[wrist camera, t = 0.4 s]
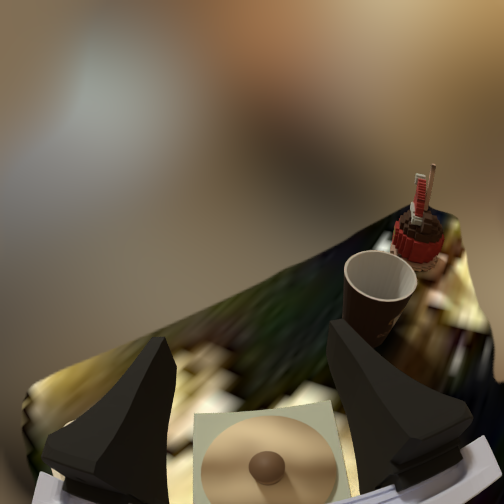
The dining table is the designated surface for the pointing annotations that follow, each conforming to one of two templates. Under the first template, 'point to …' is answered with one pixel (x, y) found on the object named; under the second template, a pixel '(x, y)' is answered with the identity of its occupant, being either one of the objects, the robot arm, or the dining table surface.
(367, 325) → the coffee mug
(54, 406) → the dining table surface
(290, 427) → the lid
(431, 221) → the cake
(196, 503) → the mat
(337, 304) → the dining table surface
